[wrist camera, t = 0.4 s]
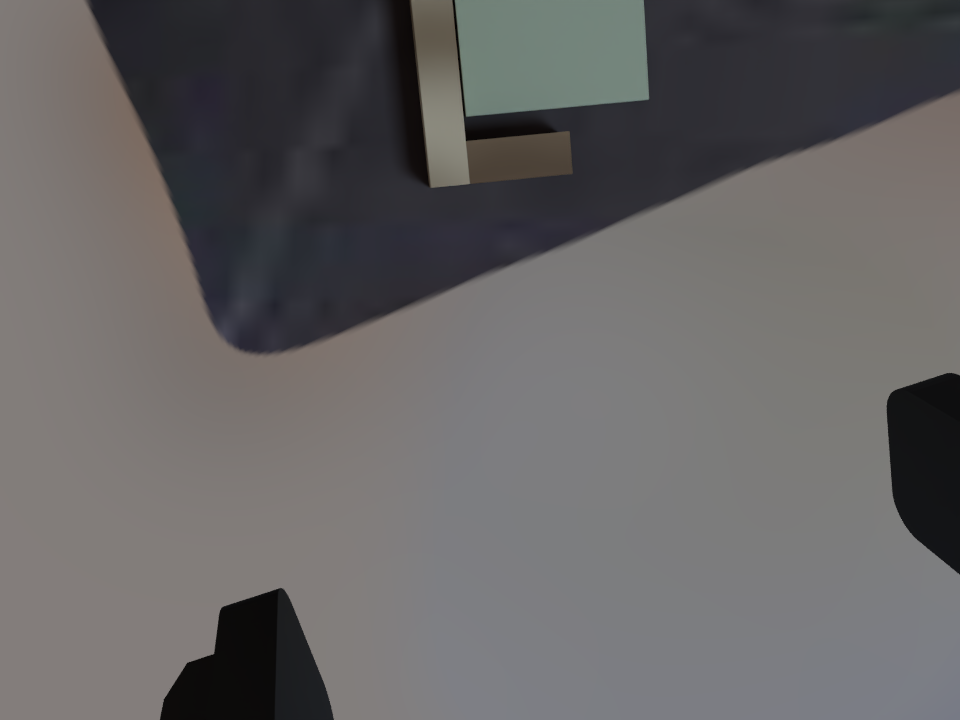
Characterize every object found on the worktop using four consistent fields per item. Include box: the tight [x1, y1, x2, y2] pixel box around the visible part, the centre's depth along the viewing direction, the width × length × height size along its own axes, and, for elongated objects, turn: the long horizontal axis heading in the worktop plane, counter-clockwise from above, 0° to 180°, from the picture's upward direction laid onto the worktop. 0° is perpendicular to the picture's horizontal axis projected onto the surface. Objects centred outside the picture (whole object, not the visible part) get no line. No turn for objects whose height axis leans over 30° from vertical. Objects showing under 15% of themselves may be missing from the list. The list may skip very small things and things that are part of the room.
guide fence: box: [409, 0, 573, 188], centre depth 34 cm, size 12×6×2 cm, turn 5°
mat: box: [455, 0, 649, 117], centre depth 35 cm, size 7×7×1 cm
